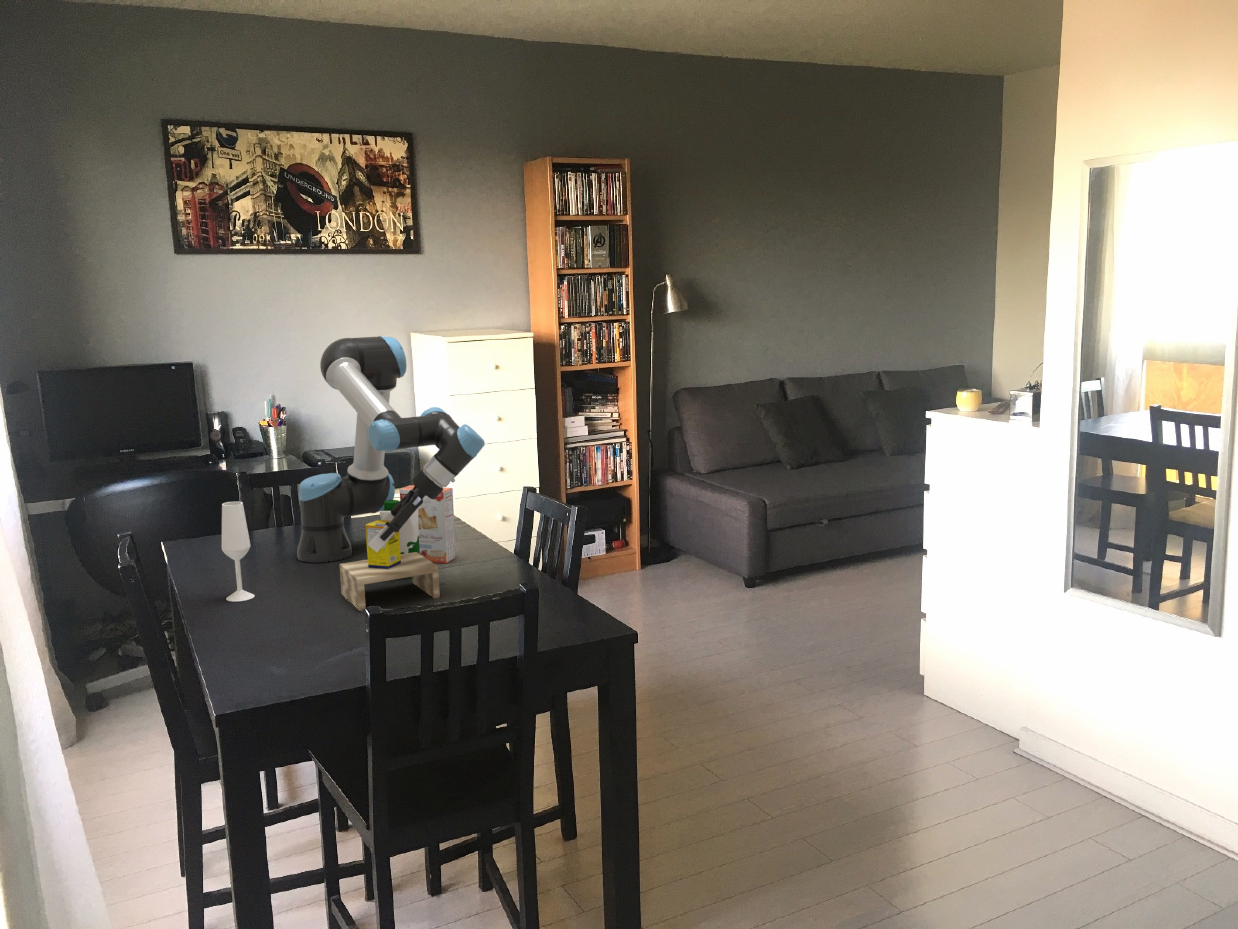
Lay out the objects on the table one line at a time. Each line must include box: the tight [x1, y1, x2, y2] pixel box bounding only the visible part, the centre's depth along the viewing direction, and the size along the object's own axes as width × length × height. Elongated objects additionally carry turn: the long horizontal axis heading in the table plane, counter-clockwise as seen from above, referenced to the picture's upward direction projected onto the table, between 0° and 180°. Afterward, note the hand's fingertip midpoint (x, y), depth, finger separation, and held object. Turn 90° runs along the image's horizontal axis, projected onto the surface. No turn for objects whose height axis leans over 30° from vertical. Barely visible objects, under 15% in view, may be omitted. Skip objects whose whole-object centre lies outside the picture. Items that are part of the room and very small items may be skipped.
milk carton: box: [379, 499, 420, 579], centre depth 259 cm, size 9×9×20 cm
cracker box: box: [399, 484, 457, 565], centre depth 273 cm, size 14×6×21 cm, turn 71°
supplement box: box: [364, 519, 401, 569], centre depth 239 cm, size 6×6×11 cm
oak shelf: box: [338, 552, 440, 612], centre depth 241 cm, size 16×20×8 cm
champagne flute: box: [221, 501, 255, 602], centre depth 240 cm, size 7×7×24 cm
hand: (374, 541), depth 238 cm, fingers open, 13 cm apart
